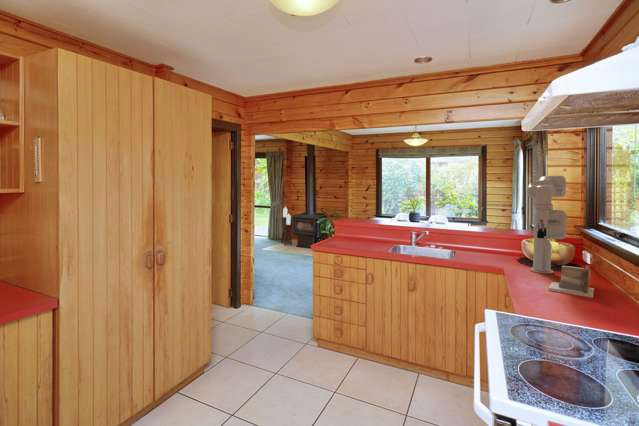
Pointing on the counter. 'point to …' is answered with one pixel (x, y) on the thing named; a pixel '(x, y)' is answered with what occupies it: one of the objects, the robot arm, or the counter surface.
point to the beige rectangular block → (571, 275)
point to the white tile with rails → (571, 289)
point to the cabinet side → (585, 279)
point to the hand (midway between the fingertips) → (541, 237)
